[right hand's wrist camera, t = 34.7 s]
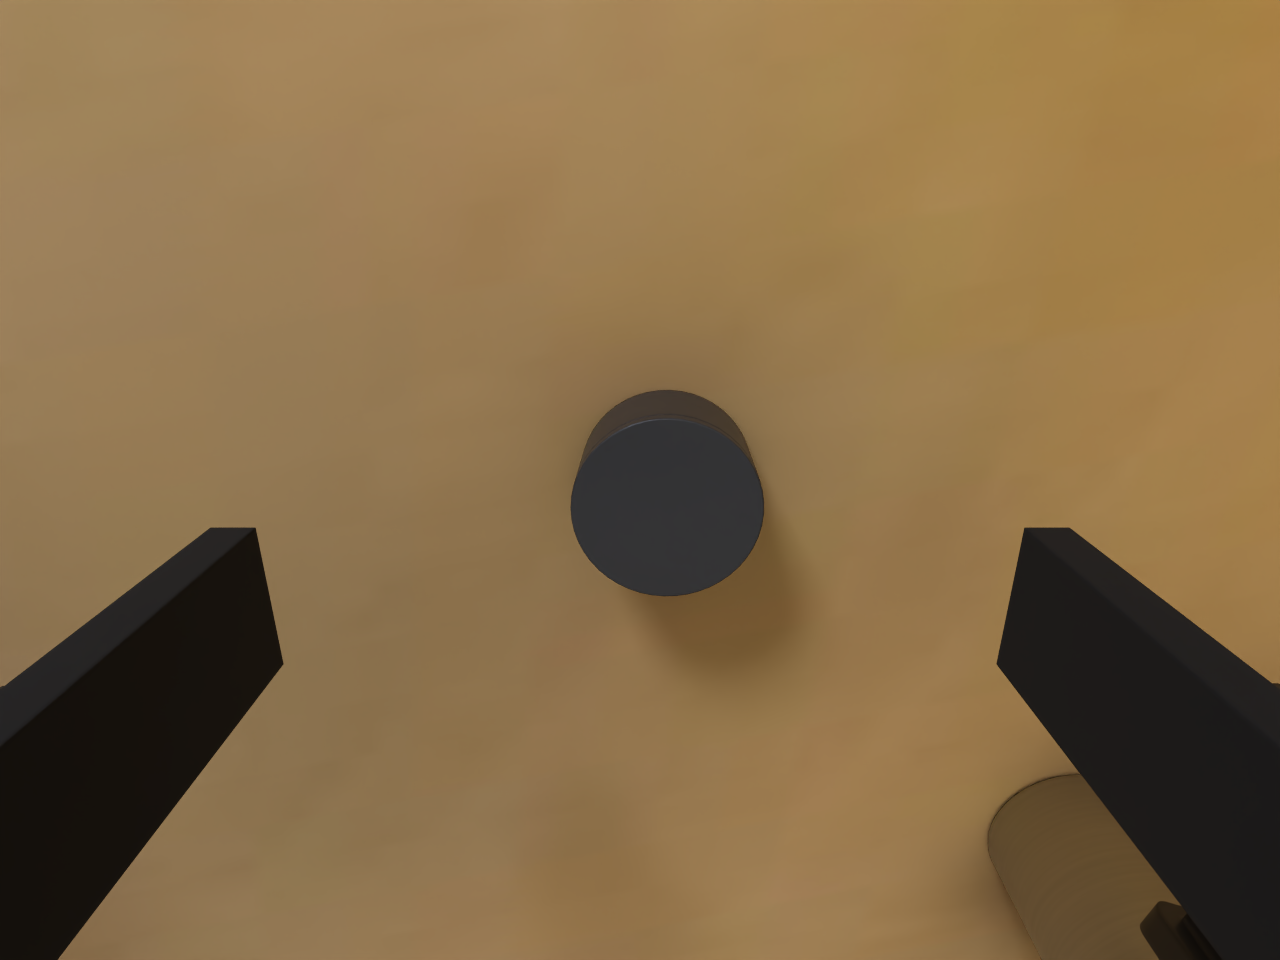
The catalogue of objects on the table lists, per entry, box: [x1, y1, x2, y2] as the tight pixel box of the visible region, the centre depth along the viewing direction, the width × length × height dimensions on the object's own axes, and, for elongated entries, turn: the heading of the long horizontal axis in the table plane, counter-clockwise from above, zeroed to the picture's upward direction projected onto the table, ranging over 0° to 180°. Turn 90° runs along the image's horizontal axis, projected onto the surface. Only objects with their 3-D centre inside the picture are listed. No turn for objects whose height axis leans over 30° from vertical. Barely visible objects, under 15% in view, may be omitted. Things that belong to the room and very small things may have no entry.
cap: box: [571, 390, 764, 596], centre depth 18 cm, size 4×4×3 cm
